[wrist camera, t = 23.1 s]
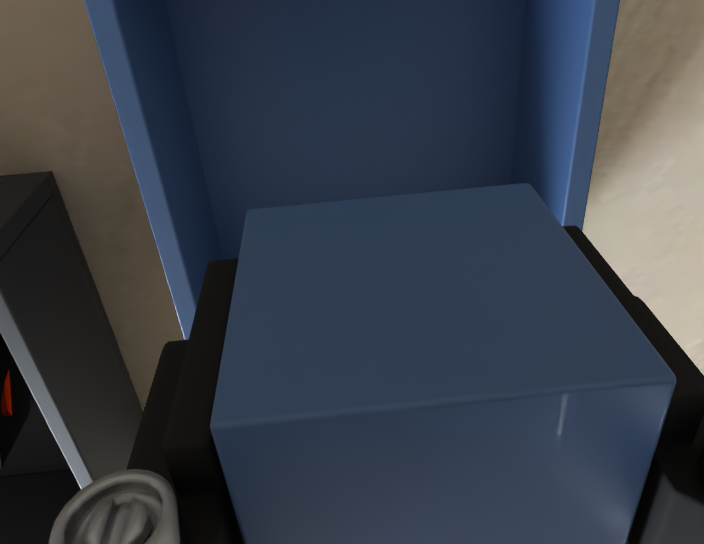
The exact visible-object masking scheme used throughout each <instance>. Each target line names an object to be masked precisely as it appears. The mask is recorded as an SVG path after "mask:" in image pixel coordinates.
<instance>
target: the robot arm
mask: <svg viewBox="0 0 704 544" xmlns="http://www.w3.org/2000/svg"><path fill="white" fill-rule="evenodd" d="M562 227H563V228H564V229H565V231H566V232H567V233H568V235H569V236H570V237H571V239H572V240H573V241H574V243H575V244H576V245H577V246H578V248H579V249H580V250H581V252H582V253H583V254H584V256H585V257H586V258H587V260H588V261H589V262H590V264H591V265H592V266H593V268H594V269H595V270H596V272H597V273H598V274H599V275H600V277H601V278H602V279H603V281H604V282H605V283H606V285H607V286H608V287H609V289H610V290H611V291H612V293H613V294H614V295H615V297H616V298H617V299H618V301H619V302H620V303H621V304H622V306H623V307H624V308H625V310H626V311H627V312H628V314H629V315H630V316H631V318H632V319H633V320H634V322H635V323H636V324H637V326H638V327H639V328H640V329H641V331H642V332H643V333H644V335H645V336H646V337H647V339H648V340H649V341H650V343H651V344H652V345H653V347H654V348H655V349H656V351H657V352H658V353H659V355H660V356H661V357H662V358H663V360H664V361H665V362H666V364H667V365H668V366H669V368H670V369H671V370H672V372H673V373H674V374H675V377H676V385H675V388H674V392H673V395H672V398H671V401H670V404H669V408H668V411H667V414H666V417H665V421H664V424H663V427H662V430H661V434H660V437H659V440H658V443H657V446H656V450H655V453H654V456H653V459H652V463H651V466H650V469H649V472H648V476H647V479H646V482H645V485H644V488H643V492H642V495H641V498H640V501H639V505H638V508H637V511H636V514H635V518H634V521H633V524H632V527H631V530H630V534H629V537H628V540H627V543H626V544H704V375H703V374H702V373H701V372H700V371H699V369H698V368H697V367H696V366H695V364H694V363H693V362H692V361H691V359H690V358H689V357H688V356H687V355H686V353H685V352H684V351H683V350H682V348H681V347H680V346H679V345H678V344H677V342H676V341H675V340H674V339H673V337H672V336H671V335H670V334H669V332H668V331H667V330H666V329H665V328H664V326H663V325H662V324H661V323H660V321H659V320H658V319H657V318H656V317H655V315H654V314H653V313H652V312H651V310H650V309H649V308H648V307H647V305H646V304H645V303H644V302H643V301H642V300H641V299H640V298H638V297H636V296H633V294H632V293H631V292H630V291H629V289H628V288H627V287H626V286H625V284H624V283H623V282H622V281H621V279H620V278H619V277H618V276H617V274H616V273H615V272H614V271H613V269H612V268H611V267H610V266H609V264H608V263H607V262H606V261H605V259H604V258H603V257H602V256H601V254H600V253H599V252H598V251H597V249H596V248H595V247H594V246H593V245H592V243H591V242H590V241H589V240H588V238H587V237H586V236H585V235H584V233H583V232H582V231H581V230H580V228H579V227H577V226H575V225H572V226H562ZM238 259H239V258H234V259H224V260H214V261H209V262H208V264H207V268H206V272H205V276H204V280H203V284H202V288H201V292H200V296H199V300H198V304H197V308H196V312H195V316H194V320H193V324H192V328H191V332H190V336H189V340H179V341H170V342H167V343H166V344H165V345H164V348H163V350H162V353H161V356H160V359H159V363H158V366H157V369H156V373H155V376H154V379H153V383H152V386H151V389H150V392H149V396H148V399H147V402H146V406H145V409H144V412H143V416H142V419H141V422H140V426H139V429H138V432H137V435H136V439H135V442H134V445H133V449H132V452H131V455H130V459H129V462H128V465H127V469H126V470H123V471H117V472H114V473H111V474H109V475H106V476H104V477H101V478H99V479H96V480H95V481H93V482H92V483H90V484H89V485H87V486H86V487H84V488H83V489H81V490H80V491H79V492H78V493H77V494H76V495H75V496H74V497H73V498H72V499H71V500H70V501H69V502H68V503H67V504H66V505H65V506H64V507H63V509H62V511H61V512H60V514H59V515H58V517H57V518H56V520H55V522H54V525H53V528H52V531H51V535H50V538H49V544H244V541H243V538H242V534H241V531H240V527H239V524H238V521H237V517H236V514H235V510H234V507H233V504H232V500H231V497H230V493H229V490H228V487H227V483H226V480H225V476H224V473H223V470H222V466H221V463H220V459H219V456H218V453H217V449H216V446H215V442H214V439H213V436H212V432H211V429H210V422H211V416H212V411H213V405H214V399H215V393H216V387H217V382H218V376H219V370H220V364H221V358H222V352H223V347H224V341H225V335H226V329H227V323H228V318H229V312H230V306H231V300H232V294H233V288H234V283H235V277H236V271H237V265H238Z"/></svg>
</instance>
